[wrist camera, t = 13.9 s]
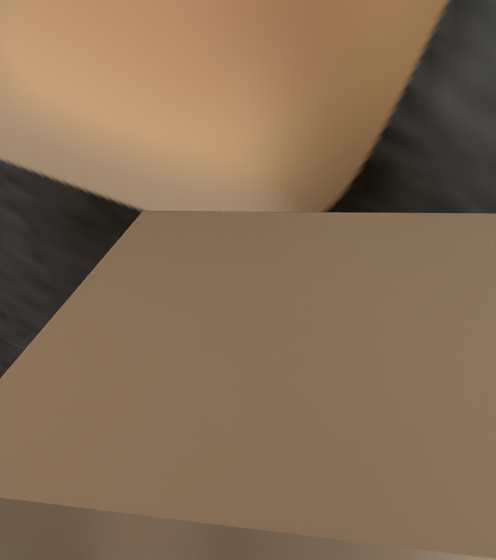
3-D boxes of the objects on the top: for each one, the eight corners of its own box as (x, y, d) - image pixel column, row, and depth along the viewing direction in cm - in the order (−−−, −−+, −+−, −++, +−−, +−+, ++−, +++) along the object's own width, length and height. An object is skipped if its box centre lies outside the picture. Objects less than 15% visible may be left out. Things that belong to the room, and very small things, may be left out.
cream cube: (425, 439, 13) (508, 765, 7) (188, 419, 14) (104, 688, 8) (496, 213, 8) (839, 601, 3) (142, 211, 9) (-91, 486, 4)
